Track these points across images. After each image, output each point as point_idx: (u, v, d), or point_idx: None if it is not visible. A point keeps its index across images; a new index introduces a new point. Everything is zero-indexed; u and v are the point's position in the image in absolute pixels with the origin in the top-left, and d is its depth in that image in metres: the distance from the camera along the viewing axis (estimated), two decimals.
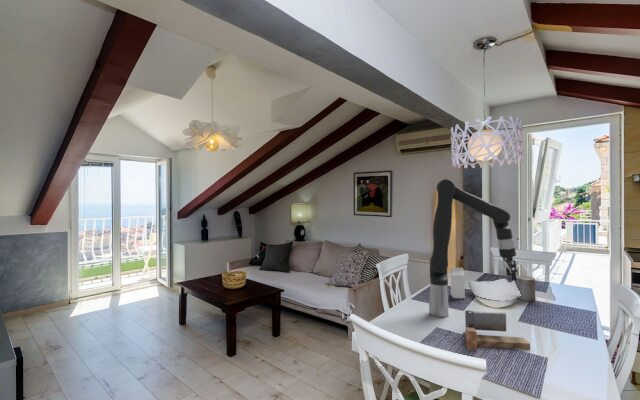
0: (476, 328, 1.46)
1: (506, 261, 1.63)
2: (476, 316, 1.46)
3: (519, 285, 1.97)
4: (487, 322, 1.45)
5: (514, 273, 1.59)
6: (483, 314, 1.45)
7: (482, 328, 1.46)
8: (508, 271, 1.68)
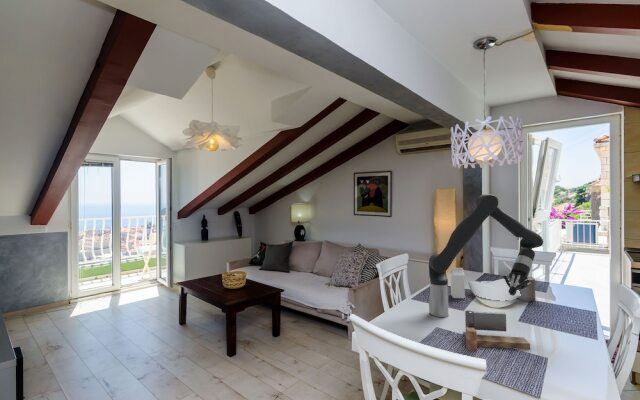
0: (476, 328, 1.46)
1: (520, 277, 1.58)
2: (476, 316, 1.46)
3: None
4: (487, 322, 1.45)
5: (516, 289, 1.56)
6: (483, 314, 1.45)
7: (482, 328, 1.46)
8: None
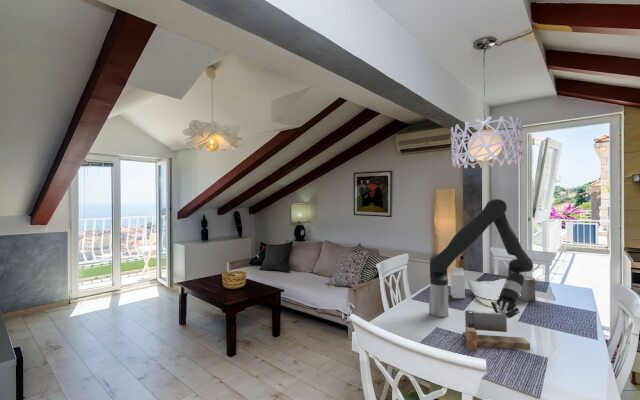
0: (476, 328, 1.46)
1: (508, 304, 1.48)
2: (476, 316, 1.46)
3: None
4: (488, 323, 1.45)
5: None
6: (483, 314, 1.45)
7: (482, 328, 1.45)
8: None
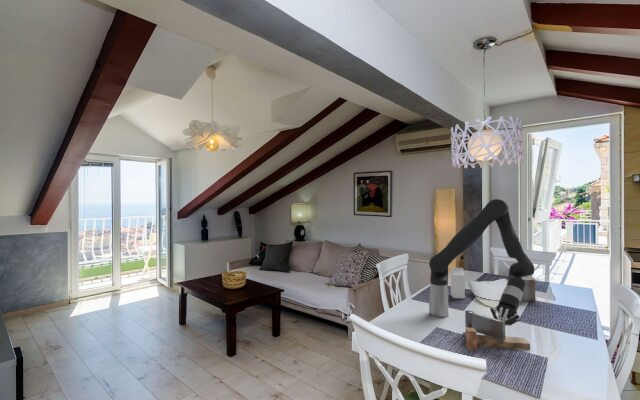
0: None
1: (508, 311, 1.40)
2: (473, 317, 1.45)
3: None
4: (484, 326, 1.41)
5: None
6: (480, 317, 1.42)
7: (479, 331, 1.43)
8: None
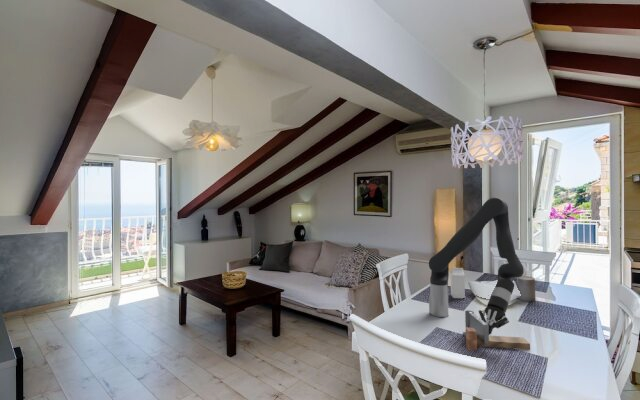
0: None
1: (497, 313, 1.37)
2: (470, 317, 1.45)
3: (519, 285, 1.97)
4: (475, 327, 1.40)
5: (492, 328, 1.36)
6: (473, 317, 1.42)
7: None
8: None
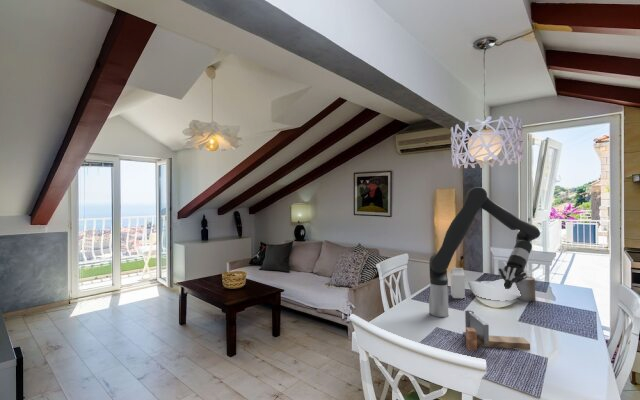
0: None
1: (516, 269, 1.50)
2: (470, 317, 1.45)
3: (519, 285, 1.97)
4: (475, 327, 1.40)
5: (512, 282, 1.49)
6: (473, 317, 1.42)
7: None
8: None
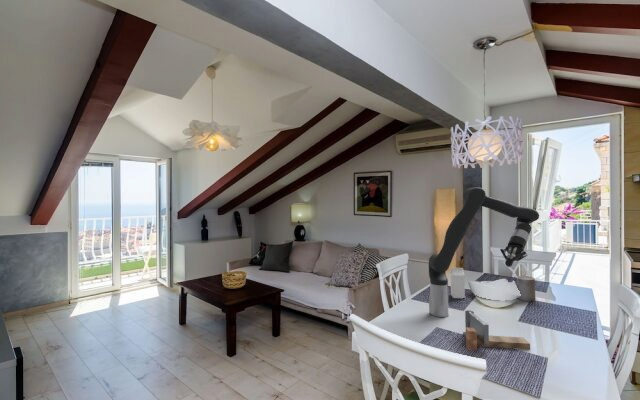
0: None
1: (516, 249, 1.61)
2: (470, 317, 1.45)
3: (519, 285, 1.97)
4: (475, 327, 1.40)
5: (513, 261, 1.59)
6: (473, 317, 1.42)
7: None
8: None
